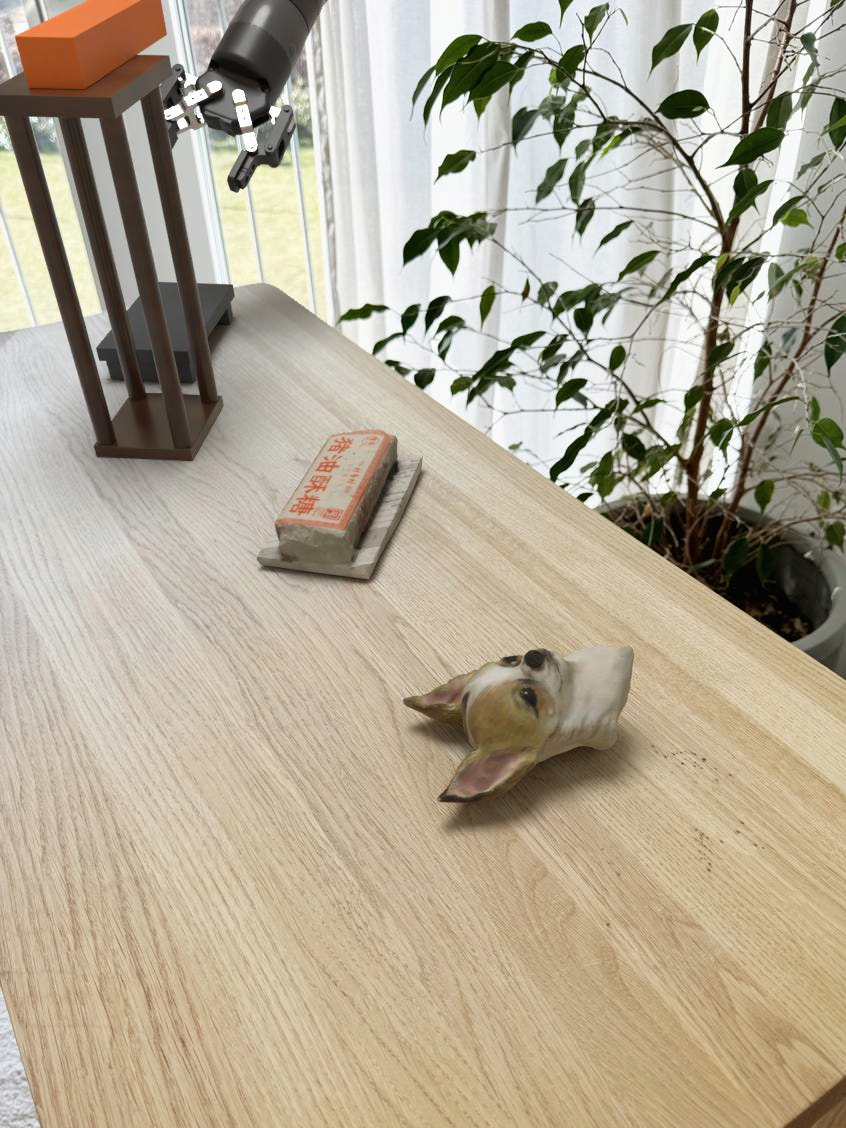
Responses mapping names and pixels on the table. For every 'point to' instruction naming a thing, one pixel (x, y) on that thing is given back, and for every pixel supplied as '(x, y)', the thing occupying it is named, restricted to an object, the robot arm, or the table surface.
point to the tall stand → (144, 418)
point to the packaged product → (344, 506)
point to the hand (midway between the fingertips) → (193, 172)
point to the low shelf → (170, 330)
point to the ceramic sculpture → (529, 713)
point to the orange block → (88, 42)
